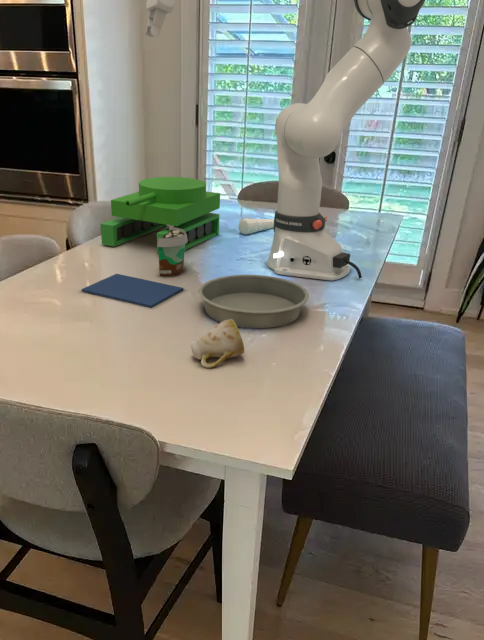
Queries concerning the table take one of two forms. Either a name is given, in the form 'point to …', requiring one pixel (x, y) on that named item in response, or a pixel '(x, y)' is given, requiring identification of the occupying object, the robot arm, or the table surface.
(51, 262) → the table surface
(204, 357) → the mug
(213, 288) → the cake pan
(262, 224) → the unicorn horn
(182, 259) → the food container
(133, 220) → the tank
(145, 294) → the mat
